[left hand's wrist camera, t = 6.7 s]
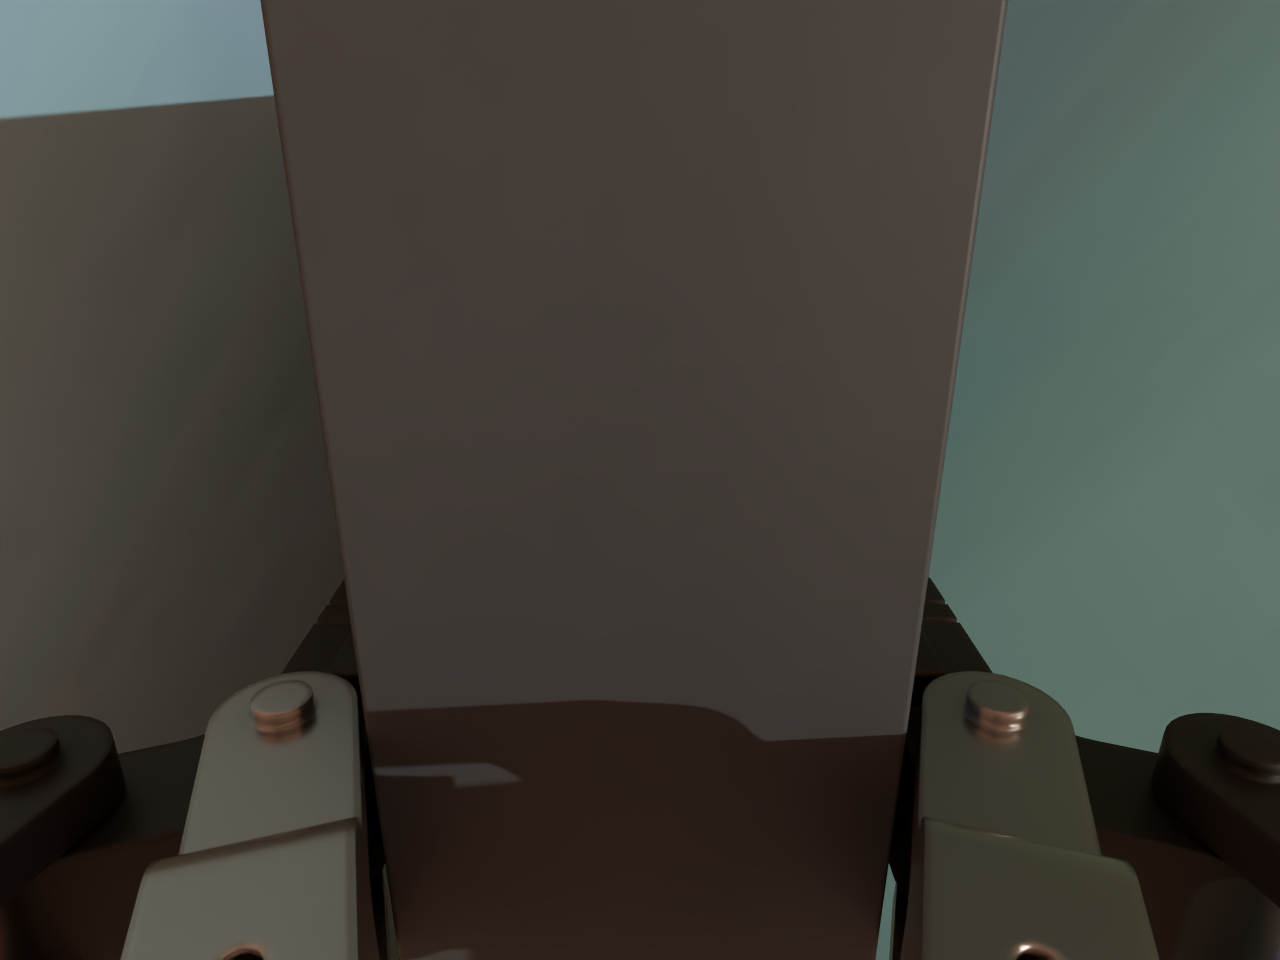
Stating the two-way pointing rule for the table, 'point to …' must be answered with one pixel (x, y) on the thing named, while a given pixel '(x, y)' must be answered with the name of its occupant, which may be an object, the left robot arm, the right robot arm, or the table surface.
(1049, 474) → the table surface
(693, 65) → the bar
